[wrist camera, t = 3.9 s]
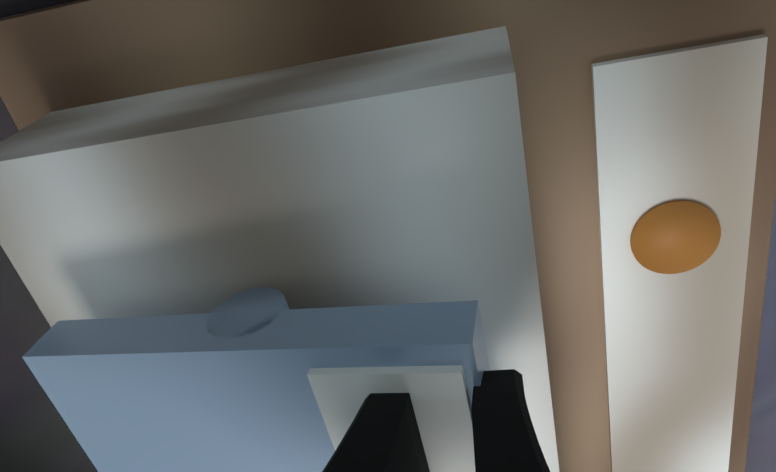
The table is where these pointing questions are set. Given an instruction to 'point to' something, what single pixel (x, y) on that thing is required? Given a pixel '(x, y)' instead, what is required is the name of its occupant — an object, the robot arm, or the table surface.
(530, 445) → the robot arm
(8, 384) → the table surface
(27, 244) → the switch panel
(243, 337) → the blue rectangular block
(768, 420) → the table surface
